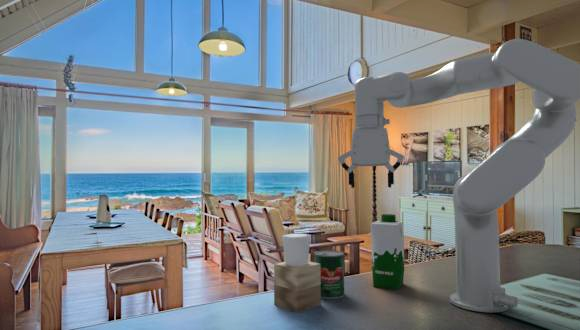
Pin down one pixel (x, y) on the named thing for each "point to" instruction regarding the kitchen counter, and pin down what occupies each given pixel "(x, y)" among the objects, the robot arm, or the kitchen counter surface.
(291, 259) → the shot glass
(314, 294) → the block lower
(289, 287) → the block upper
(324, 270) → the canned tomato
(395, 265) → the milk carton
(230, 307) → the kitchen counter surface
